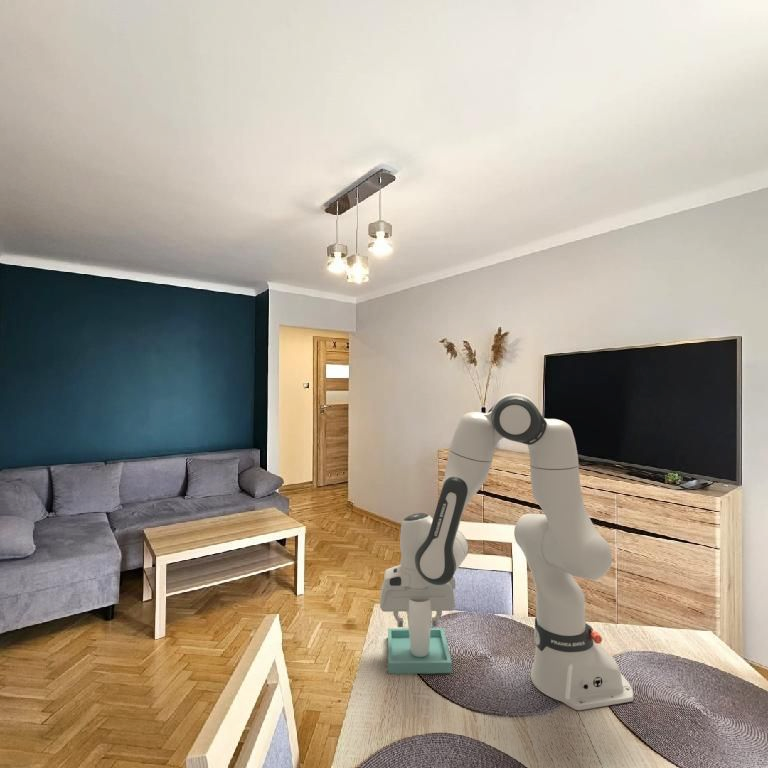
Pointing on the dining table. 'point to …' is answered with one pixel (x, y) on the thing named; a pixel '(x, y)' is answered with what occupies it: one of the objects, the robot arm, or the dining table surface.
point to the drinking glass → (419, 627)
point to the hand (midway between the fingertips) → (417, 625)
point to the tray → (408, 663)
